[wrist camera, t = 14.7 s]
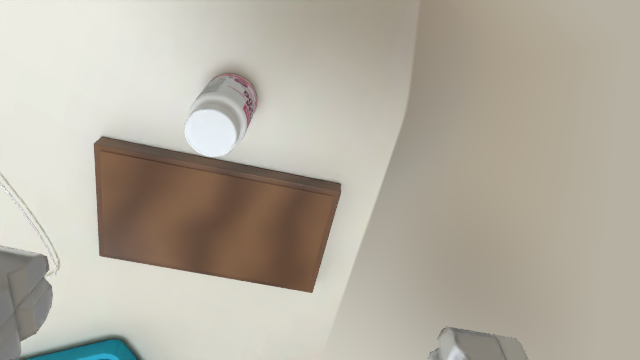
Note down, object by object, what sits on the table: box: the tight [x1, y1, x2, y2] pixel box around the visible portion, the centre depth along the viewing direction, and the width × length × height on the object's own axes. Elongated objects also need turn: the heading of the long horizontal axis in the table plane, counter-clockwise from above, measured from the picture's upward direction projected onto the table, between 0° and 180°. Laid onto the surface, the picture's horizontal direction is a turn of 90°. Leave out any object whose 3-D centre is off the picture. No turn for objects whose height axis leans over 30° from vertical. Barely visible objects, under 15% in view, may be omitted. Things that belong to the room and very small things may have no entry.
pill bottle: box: [184, 74, 257, 157], centre depth 36 cm, size 5×5×8 cm
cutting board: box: [94, 137, 341, 293], centre depth 46 cm, size 24×14×2 cm, turn 78°
